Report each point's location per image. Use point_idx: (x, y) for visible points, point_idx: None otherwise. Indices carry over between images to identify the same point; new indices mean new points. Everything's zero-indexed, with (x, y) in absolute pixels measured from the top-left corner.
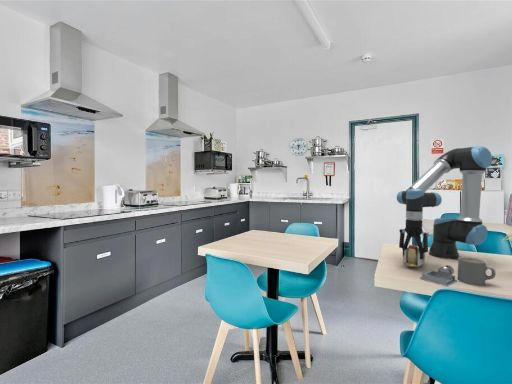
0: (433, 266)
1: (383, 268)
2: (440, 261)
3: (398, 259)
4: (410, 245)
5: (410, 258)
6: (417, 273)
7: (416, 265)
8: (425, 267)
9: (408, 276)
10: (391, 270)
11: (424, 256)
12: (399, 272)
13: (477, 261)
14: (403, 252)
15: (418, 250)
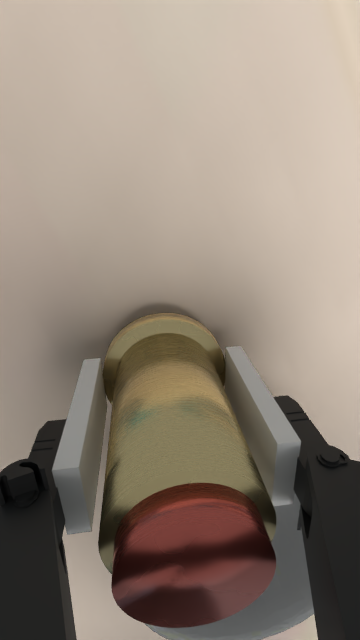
0: None
1: (345, 73)
2: (144, 623)
3: None
4: (257, 579)
5: (171, 364)
6: (48, 248)
7: (109, 352)
8: None
9: (19, 30)
10: (254, 84)
11: None
12: (163, 96)
13: None
14: (301, 421)
15: (236, 619)
